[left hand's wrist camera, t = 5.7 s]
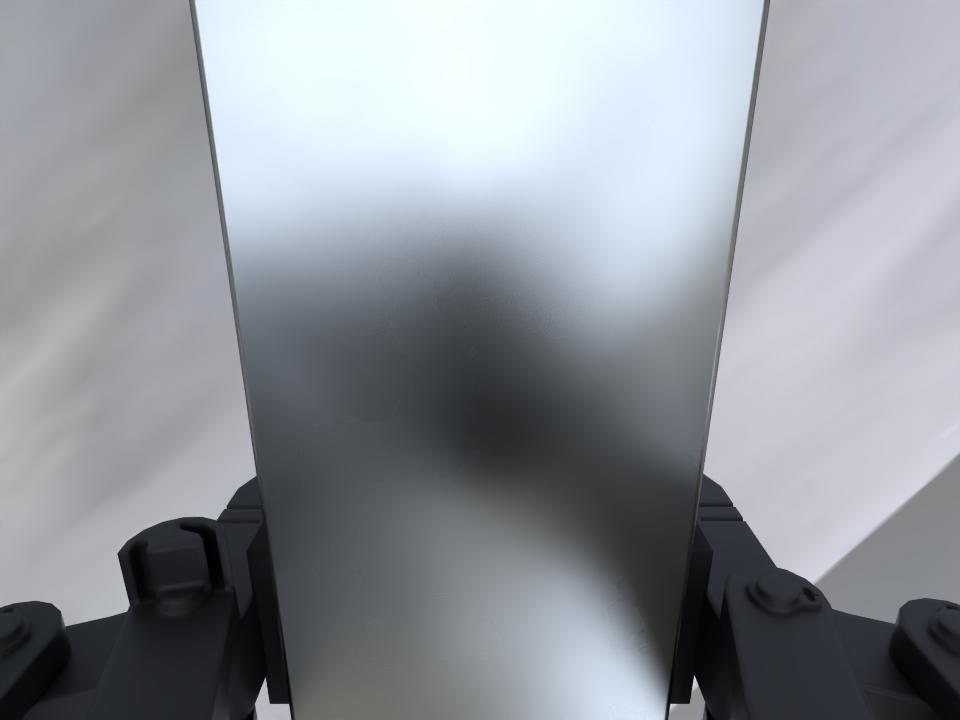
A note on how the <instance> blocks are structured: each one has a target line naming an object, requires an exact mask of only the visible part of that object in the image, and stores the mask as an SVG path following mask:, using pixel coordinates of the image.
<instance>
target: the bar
mask: <svg viewBox="0 0 960 720" xmlns="http://www.w3.org/2000/svg"><path fill="white" fill-rule="evenodd" d="M189 2H190V9H191V16H192V23H193V30H194V37H195V44H196V51H197V58H198V66H199V73H200V80H201V87H202V94H203V101H204V108H205V115H206V122H207V129H208V136H209V143H210V150H211V157H212V164H213V171H214V178H215V185H216V192H217V199H218V206H219V213H220V220H221V227H222V234H223V241H224V248H225V256H226V263H227V270H228V277H229V284H230V291H231V298H232V305H233V312H234V319H235V326H236V333H237V340H238V347H239V354H240V361H241V368H242V375H243V382H244V389H245V396H246V403H247V410H248V417H249V424H250V431H251V439H252V446H253V453H254V460H255V467H256V474H257V481H258V488H259V495H260V502H261V509H262V516H263V523H264V530H265V537H266V544H267V551H268V558H269V565H270V572H271V579H272V586H273V593H274V600H275V607H276V614H277V622H278V629H279V636H280V643H281V650H282V657H283V664H284V671H285V678H286V685H287V692H288V699H289V706H290V713H291V720H668V716H669V709H670V702H671V695H672V688H673V681H674V674H675V667H676V660H677V653H678V645H679V638H680V631H681V624H682V617H683V610H684V603H685V596H686V589H687V582H688V575H689V568H690V561H691V554H692V547H693V540H694V533H695V526H696V519H697V512H698V505H699V498H700V491H701V484H702V477H703V469H704V462H705V455H706V448H707V441H708V434H709V427H710V420H711V413H712V406H713V399H714V392H715V385H716V378H717V371H718V364H719V357H720V350H721V343H722V336H723V329H724V322H725V315H726V308H727V300H728V293H729V286H730V279H731V272H732V265H733V258H734V251H735V244H736V237H737V230H738V223H739V216H740V209H741V202H742V195H743V188H744V181H745V174H746V167H747V160H748V153H749V146H750V139H751V132H752V124H753V117H754V110H755V103H756V96H757V89H758V82H759V75H760V68H761V61H762V54H763V47H764V40H765V33H766V26H767V19H768V12H769V5H770V0H189Z"/></svg>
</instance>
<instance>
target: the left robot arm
mask: <svg viewBox="0 0 960 720" xmlns="http://www.w3.org/2000/svg"><path fill="white" fill-rule="evenodd" d="M118 558H119V562H120V566H121V570H122V574H123V578H124V583H125V587H126V591H127V595H128V599H129V603H130V606H129V609H128V611H127V612H124V613H121V614H118V615H114V616H111V617H106V618H102V619H97V620H93V621H88V622H84V623H79V624H75V625H70V626H66V627H65V625H64V621H63V618H62V614H61V611H60V610H59V609H57V608H56V607H55V606H54V605H53V604H51V603H45V602H39V601H30V602H22V603H14V604H11V605H8V606H4V607H1V608H0V720H257V714H256V708H255V702H256V700H257V697H258V695H259V692H260V690H261V687H262V685H263V682H264V679H265V677H266V682H267V688H268V695H269V701H270V704H289V699H288V692H287V685H286V678H285V671H284V664H283V657H282V650H281V643H280V636H279V629H278V622H277V614H276V607H275V600H274V593H273V586H272V579H271V572H270V565H269V558H268V551H267V544H266V537H265V530H264V523H263V516H262V509H261V502H260V495H259V488H258V481H257V476H256V477H254V478H253V479H251V480H250V481H249V482H247V483H246V484H244V485H243V486H241V487H240V488H239V489H238V490H237V491H236V493H235V494H234V496H233V497H232V499H231V500H230V502H229V503H228V505H227V509H224V511H223V512H222V513H221V515H220V516H219V518H218V519H217V521H216V520H212V519H208V518H204V517H183V518H178V519H174V520H169V521H165V522H162V523H159V524H157V525H155V526H152V527H150V528H147V529H145V530H143V531H142V532H140V533H139V534H137V535H136V536H134V537H133V538H131V539H130V540H128V541H127V542H126V544H125V545H124V546H123V547H122V549H121V550H120V551H119V552H118ZM694 675H695V678H696V680H697V683H698V685H699V688H700V690H701V693H702V695H703V698H704V700H705V708H704V714H703V720H960V605H958V604H956V603H952V602H949V601H944V600H936V599H928V598H923V599H917V600H911V601H908V602H907V603H906V604H904V605H903V606H902V607H901V608H900V609H899V613H898V616H897V619H896V623H895V624H892V623H888V622H883V621H879V620H874V619H870V618H865V617H861V616H856V615H852V614H848V613H844V612H841V611H837V610H834V609H832V608H831V605H830V604H829V602H828V601H827V599H826V598H825V596H824V595H823V593H822V592H821V591H820V590H819V589H818V588H816V587H815V586H814V585H813V584H811V583H810V582H809V581H808V580H806V579H805V578H802V577H800V576H798V575H796V574H794V573H792V572H790V571H788V570H785V569H781V568H777V567H776V565H775V564H774V562H773V561H772V560H771V558H770V557H769V555H768V554H767V552H766V551H765V549H764V548H763V546H762V545H761V544H760V542H759V541H758V539H757V538H756V536H755V535H754V533H753V532H752V530H751V529H750V527H749V526H748V525H747V523H746V522H745V521H743V517H742V516H741V514H740V513H739V511H738V510H737V509H736V507H733V503H732V501H731V500H730V498H729V497H728V495H727V494H726V493H725V491H724V490H723V488H722V487H721V486H720V485H718V484H717V483H716V482H714V481H713V480H711V479H710V478H708V477H707V476H706V475H704V474H703V477H702V484H701V491H700V498H699V505H698V512H697V519H696V526H695V533H694V540H693V547H692V554H691V561H690V568H689V575H688V582H687V589H686V596H685V603H684V610H683V617H682V624H681V631H680V638H679V645H678V653H677V660H676V667H675V674H674V681H673V688H672V695H671V702H670V704H689V703H690V698H691V692H692V686H693V679H694Z"/></svg>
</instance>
